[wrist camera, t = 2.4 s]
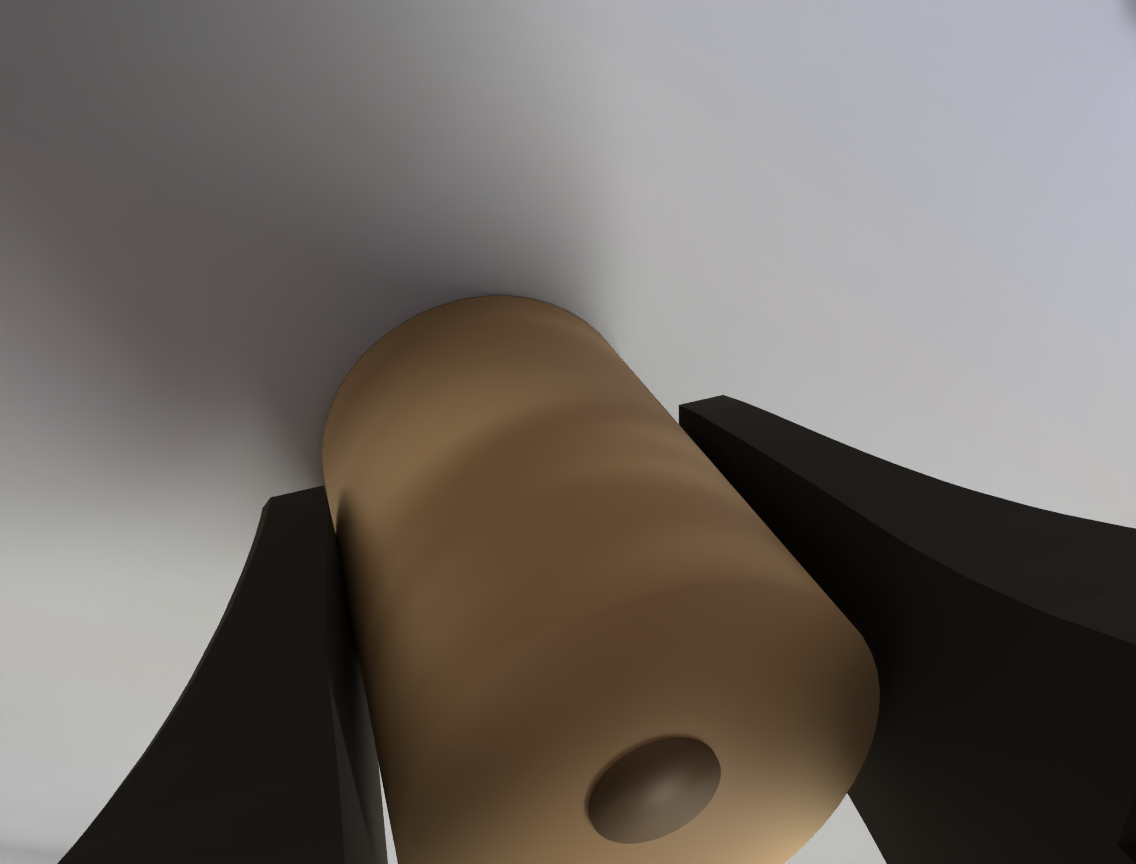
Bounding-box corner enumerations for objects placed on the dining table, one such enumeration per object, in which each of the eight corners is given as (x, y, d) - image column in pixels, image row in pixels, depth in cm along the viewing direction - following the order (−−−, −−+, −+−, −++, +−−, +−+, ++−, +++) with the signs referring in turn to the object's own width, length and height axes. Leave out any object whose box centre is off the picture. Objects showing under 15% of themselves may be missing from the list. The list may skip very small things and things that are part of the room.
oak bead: (628, 268, 12) (912, 525, 7) (638, 534, 15) (858, 868, 10) (288, 331, 11) (350, 681, 6) (354, 607, 14) (439, 1024, 9)
